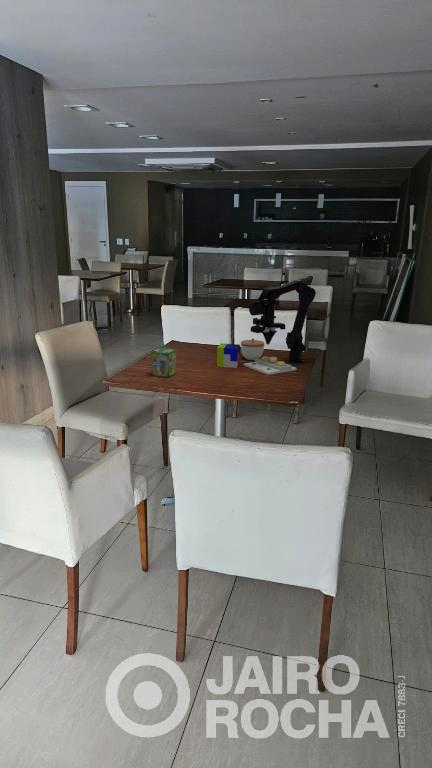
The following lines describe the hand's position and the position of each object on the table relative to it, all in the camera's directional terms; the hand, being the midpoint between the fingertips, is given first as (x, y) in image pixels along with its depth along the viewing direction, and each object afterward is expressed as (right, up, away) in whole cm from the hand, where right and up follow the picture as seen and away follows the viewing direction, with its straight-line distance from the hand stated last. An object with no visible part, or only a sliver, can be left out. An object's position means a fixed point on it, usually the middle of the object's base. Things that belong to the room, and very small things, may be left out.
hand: (267, 344), depth 252 cm
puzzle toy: (-20, -10, +3) cm, 23 cm away
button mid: (+3, -9, -1) cm, 10 cm away
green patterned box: (-51, -16, -16) cm, 56 cm away
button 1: (-1, -9, +5) cm, 10 cm away
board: (+1, -12, -1) cm, 12 cm away
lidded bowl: (-7, -7, +17) cm, 20 cm away
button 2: (+6, -12, -5) cm, 14 cm away
